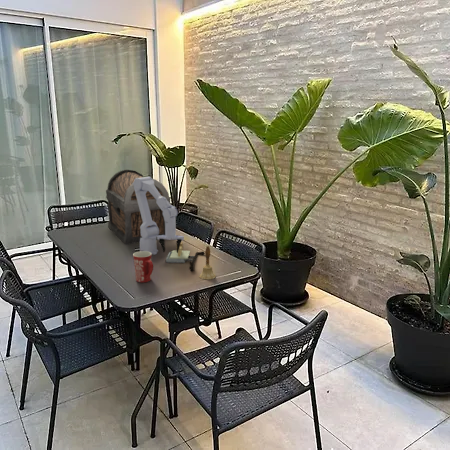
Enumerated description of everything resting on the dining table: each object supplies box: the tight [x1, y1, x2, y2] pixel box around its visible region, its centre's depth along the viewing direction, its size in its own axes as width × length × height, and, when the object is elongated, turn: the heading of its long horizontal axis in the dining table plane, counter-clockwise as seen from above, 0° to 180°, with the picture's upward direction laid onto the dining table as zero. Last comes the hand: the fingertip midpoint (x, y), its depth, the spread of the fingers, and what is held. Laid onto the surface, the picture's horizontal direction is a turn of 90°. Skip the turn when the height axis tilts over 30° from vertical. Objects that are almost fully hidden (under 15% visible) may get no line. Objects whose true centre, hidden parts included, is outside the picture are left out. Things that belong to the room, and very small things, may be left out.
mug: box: [132, 250, 154, 283], centre depth 202 cm, size 13×9×14 cm
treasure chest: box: [105, 169, 171, 245], centre depth 278 cm, size 45×32×40 cm
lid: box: [169, 247, 191, 259], centre depth 233 cm, size 10×12×4 cm
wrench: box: [188, 251, 205, 272], centre depth 228 cm, size 5×5×30 cm
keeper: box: [185, 255, 195, 262], centre depth 234 cm, size 4×6×1 cm
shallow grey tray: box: [165, 251, 186, 264], centre depth 234 cm, size 10×12×2 cm
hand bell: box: [198, 245, 217, 281], centre depth 208 cm, size 8×8×16 cm
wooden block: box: [175, 241, 184, 251], centre depth 243 cm, size 4×4×6 cm
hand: (170, 251), depth 233 cm, fingers open, 7 cm apart
